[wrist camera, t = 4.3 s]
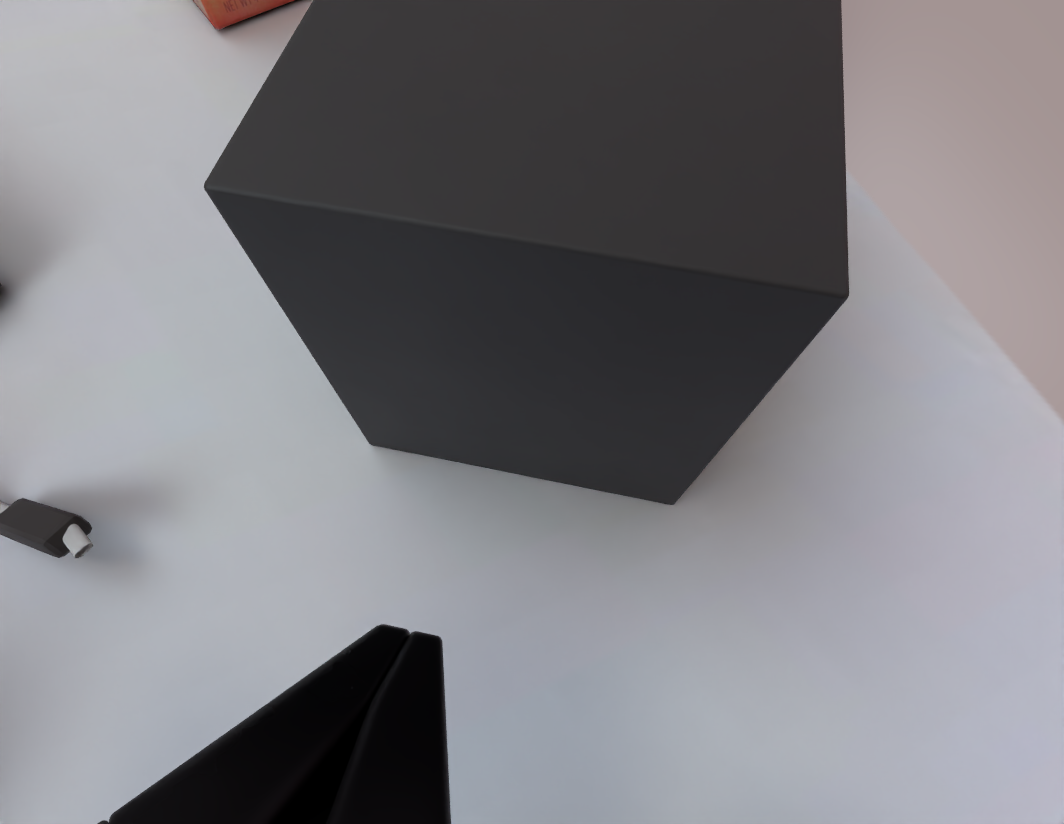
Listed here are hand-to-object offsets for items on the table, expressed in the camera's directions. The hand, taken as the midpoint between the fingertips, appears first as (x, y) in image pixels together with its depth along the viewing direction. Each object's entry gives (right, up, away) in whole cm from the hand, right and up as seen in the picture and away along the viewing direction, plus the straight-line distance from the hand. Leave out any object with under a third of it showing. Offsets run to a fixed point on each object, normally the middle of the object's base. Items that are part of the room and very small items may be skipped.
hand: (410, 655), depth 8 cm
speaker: (+3, +8, +14) cm, 17 cm away
